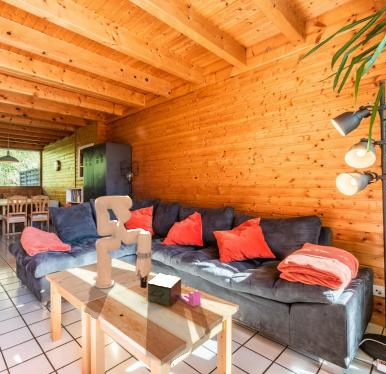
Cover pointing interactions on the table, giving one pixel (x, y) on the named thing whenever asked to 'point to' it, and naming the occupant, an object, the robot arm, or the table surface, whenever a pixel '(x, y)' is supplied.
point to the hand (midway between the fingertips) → (143, 287)
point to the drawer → (159, 294)
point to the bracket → (191, 298)
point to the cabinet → (168, 286)
